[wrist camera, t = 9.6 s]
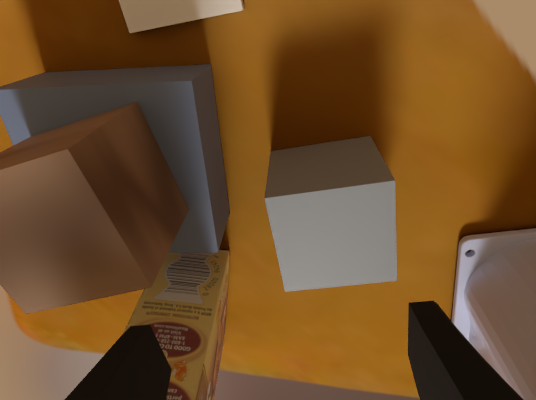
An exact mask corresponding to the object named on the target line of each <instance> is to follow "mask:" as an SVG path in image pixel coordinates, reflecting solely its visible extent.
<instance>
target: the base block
mask: <svg viewBox="0 0 536 400" xmlns="http://www.w3.org/2000/svg"><path fill="white" fill-rule="evenodd" d="M135 102H138V104H139V106H140V108H141V110H142V112H143V114H144V116H145V118H146V120H147V123H148V125H149V127H150V129H151V131H152V133H153V135H154V137H155V139H156V141H157V143H158V145H159V148H160V150H161V152H162V154H163V156H164V158H165V160H166V162H167V164H168V166H169V168H170V170H171V173H172V175H173V177H174V179H175V181H176V183H177V185H178V187H179V189H180V191H181V193H182V195H183V197H184V200H185V202H186V204H187V206H188V208H189V211H188V213H187V215H186V217H185V219H184V221H183V223H182V225H181V227H180V229H179V231H178V234H177V236H176V238H175V240H174V242H173V244H172V246H171V248H170V250H169V252H168V253H218V252H219V248H220V245H221V242H222V238H223V235H224V231H225V228H226V224H227V221H228V217H229V214H230V210H229V202H228V194H227V186H226V178H225V170H224V162H223V155H222V147H221V139H220V131H219V123H218V115H217V107H216V99H215V92H214V84H213V76H212V68H211V64H200V65H180V66H160V67H140V68H120V69H100V70H80V71H60V72H45V73H42V74H38V75H35V76H32V77H29V78H26V79H23V80H20V81H17V82H14V83H11V84H7V85H4V86H1V87H0V115H1V117H2V120H3V122H4V124H5V127H6V129H7V131H8V134H9V136H10V139H11V141H12V143H13V146H14V145H16V144H17V143H19V142H21V141H23V140H25V139H27V138H29V137H31V136H34V135H37V134H40V133H43V132H46V131H49V130H52V129H55V128H58V127H61V126H64V125H67V124H70V123H73V122H76V121H80V120H83V119H86V118H89V117H92V116H95V115H98V114H101V113H104V112H107V111H110V110H113V109H116V108H119V107H122V106H125V105H128V104H131V103H135Z"/></svg>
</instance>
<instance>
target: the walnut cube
mask: <svg viewBox="0 0 536 400" xmlns="http://www.w3.org/2000/svg"><path fill="white" fill-rule="evenodd" d="M188 211H189V208H188V206H187V204H186V202H185V200H184V197H183V195H182V193H181V191H180V189H179V187H178V185H177V183H176V181H175V179H174V177H173V175H172V173H171V170H170V168H169V166H168V164H167V162H166V160H165V158H164V156H163V154H162V152H161V150H160V148H159V145H158V143H157V141H156V139H155V137H154V135H153V133H152V131H151V129H150V127H149V125H148V123H147V120H146V118H145V116H144V114H143V112H142V110H141V108H140V106H139V104H138V102H135V103H131V104H128V105H125V106H122V107H119V108H116V109H113V110H110V111H107V112H104V113H101V114H98V115H95V116H92V117H89V118H86V119H83V120H80V121H76V122H73V123H70V124H67V125H64V126H61V127H58V128H55V129H52V130H49V131H46V132H43V133H40V134H37V135H34V136H31V137H29V138H27V139H25V140H23V141H21V142H19V143H17V144H16V145H14V146H12V147H10V148H8V149H6V150H4V151H2V152H1V153H0V285H1V286H2V287H3V288H4V289H5V291H6V292H7V293H8V294H9V295H10V296H11V298H12V299H13V300H14V301H15V302H16V303H17V305H18V306H19V307H20V308H21V309H22V310H23V312H24V313H25V314H29V313H33V312H38V311H43V310H47V309H52V308H57V307H61V306H66V305H71V304H76V303H80V302H85V301H90V300H94V299H99V298H104V297H108V296H113V295H118V294H122V293H127V292H132V291H137V290H141V289H146V288H151V287H152V285H153V283H154V281H155V279H156V277H157V275H158V273H159V271H160V269H161V267H162V265H163V263H164V261H165V258H166V256H167V254H168V252H169V250H170V248H171V246H172V244H173V242H174V240H175V238H176V236H177V234H178V231H179V229H180V227H181V225H182V223H183V221H184V219H185V217H186V215H187V213H188Z"/></svg>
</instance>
